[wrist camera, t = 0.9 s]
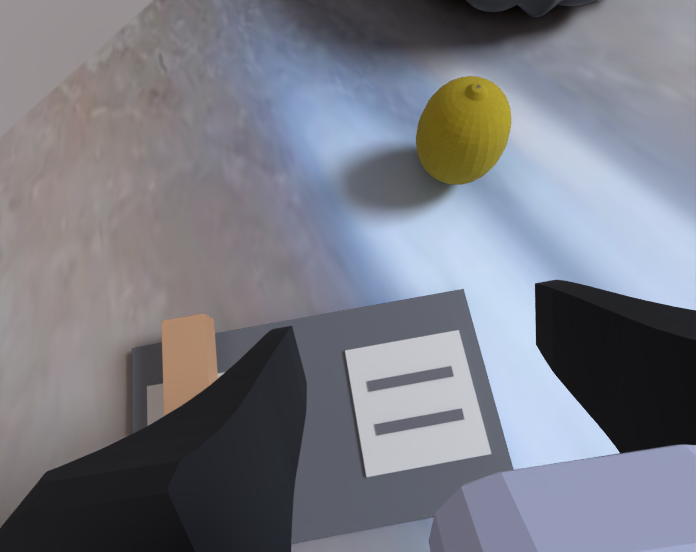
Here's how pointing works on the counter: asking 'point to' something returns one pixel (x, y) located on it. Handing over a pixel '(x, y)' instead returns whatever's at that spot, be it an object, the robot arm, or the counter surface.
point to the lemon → (463, 130)
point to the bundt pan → (525, 5)
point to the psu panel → (372, 410)
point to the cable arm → (187, 358)
